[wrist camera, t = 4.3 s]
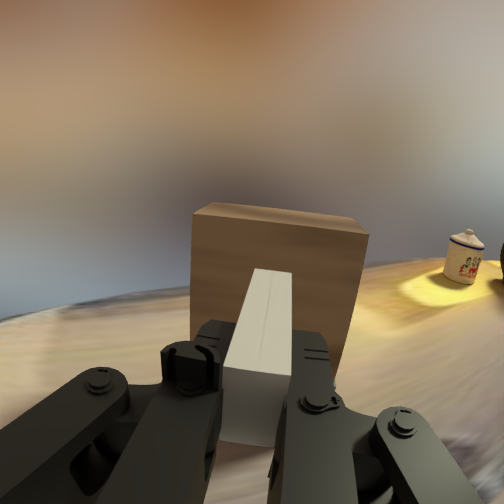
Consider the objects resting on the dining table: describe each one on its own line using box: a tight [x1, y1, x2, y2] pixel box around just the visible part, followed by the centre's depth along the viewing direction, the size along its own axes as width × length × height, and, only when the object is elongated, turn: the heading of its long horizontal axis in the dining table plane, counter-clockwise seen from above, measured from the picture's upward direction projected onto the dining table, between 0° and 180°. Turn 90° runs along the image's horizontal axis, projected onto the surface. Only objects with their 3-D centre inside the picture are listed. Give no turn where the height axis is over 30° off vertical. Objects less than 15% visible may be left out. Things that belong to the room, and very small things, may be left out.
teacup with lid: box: [443, 229, 484, 284], centre depth 60 cm, size 12×9×12 cm
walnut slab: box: [190, 202, 369, 382], centre depth 22 cm, size 5×10×16 cm, turn 83°
